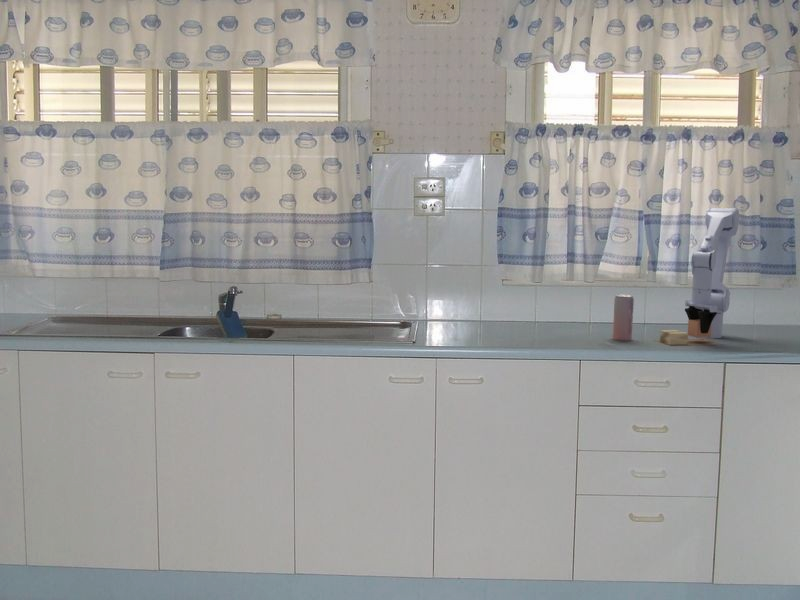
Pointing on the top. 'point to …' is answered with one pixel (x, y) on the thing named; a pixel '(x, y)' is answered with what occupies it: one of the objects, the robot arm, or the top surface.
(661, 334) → the birch block
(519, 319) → the top surface
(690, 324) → the terracotta block
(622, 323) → the beverage can
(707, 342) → the base plate
